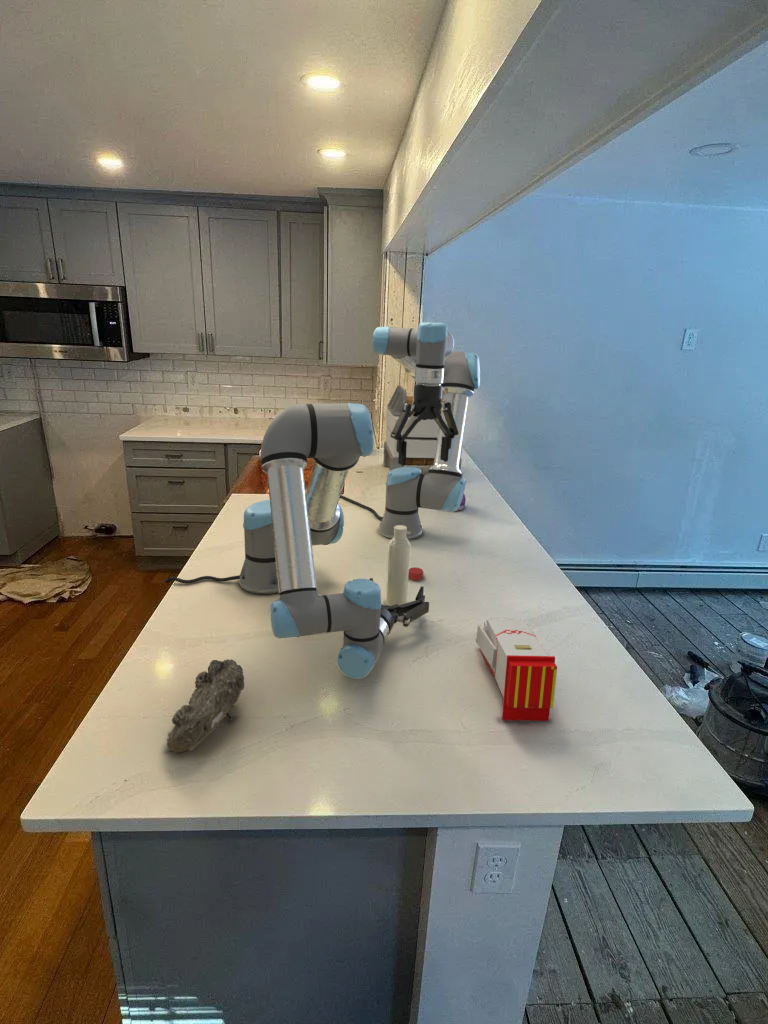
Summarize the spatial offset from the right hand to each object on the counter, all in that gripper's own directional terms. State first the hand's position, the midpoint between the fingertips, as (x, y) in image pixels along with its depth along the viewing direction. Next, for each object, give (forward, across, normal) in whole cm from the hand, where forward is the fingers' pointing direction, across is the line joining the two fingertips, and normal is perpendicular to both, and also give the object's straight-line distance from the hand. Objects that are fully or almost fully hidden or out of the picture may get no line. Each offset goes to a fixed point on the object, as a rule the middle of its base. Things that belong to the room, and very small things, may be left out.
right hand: (423, 462), depth 156 cm
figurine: (+35, +47, +48) cm, 76 cm away
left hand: (+29, -15, -14) cm, 35 cm away
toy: (+35, -6, -51) cm, 62 cm away
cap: (+33, 0, 0) cm, 33 cm away
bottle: (+35, -13, -12) cm, 40 cm away
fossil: (+35, -67, -37) cm, 84 cm away
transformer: (+35, +60, +97) cm, 119 cm away
